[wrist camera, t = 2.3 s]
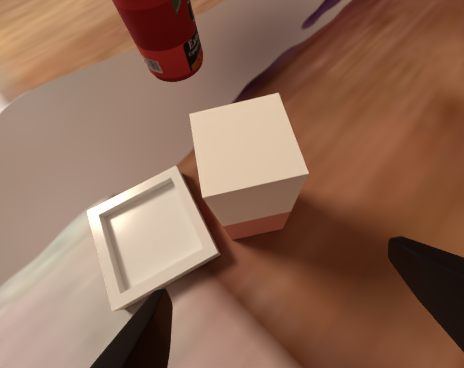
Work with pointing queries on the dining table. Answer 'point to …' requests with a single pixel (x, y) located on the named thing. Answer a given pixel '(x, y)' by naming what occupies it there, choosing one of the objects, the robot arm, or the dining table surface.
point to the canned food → (164, 36)
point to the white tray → (149, 238)
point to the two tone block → (248, 164)
